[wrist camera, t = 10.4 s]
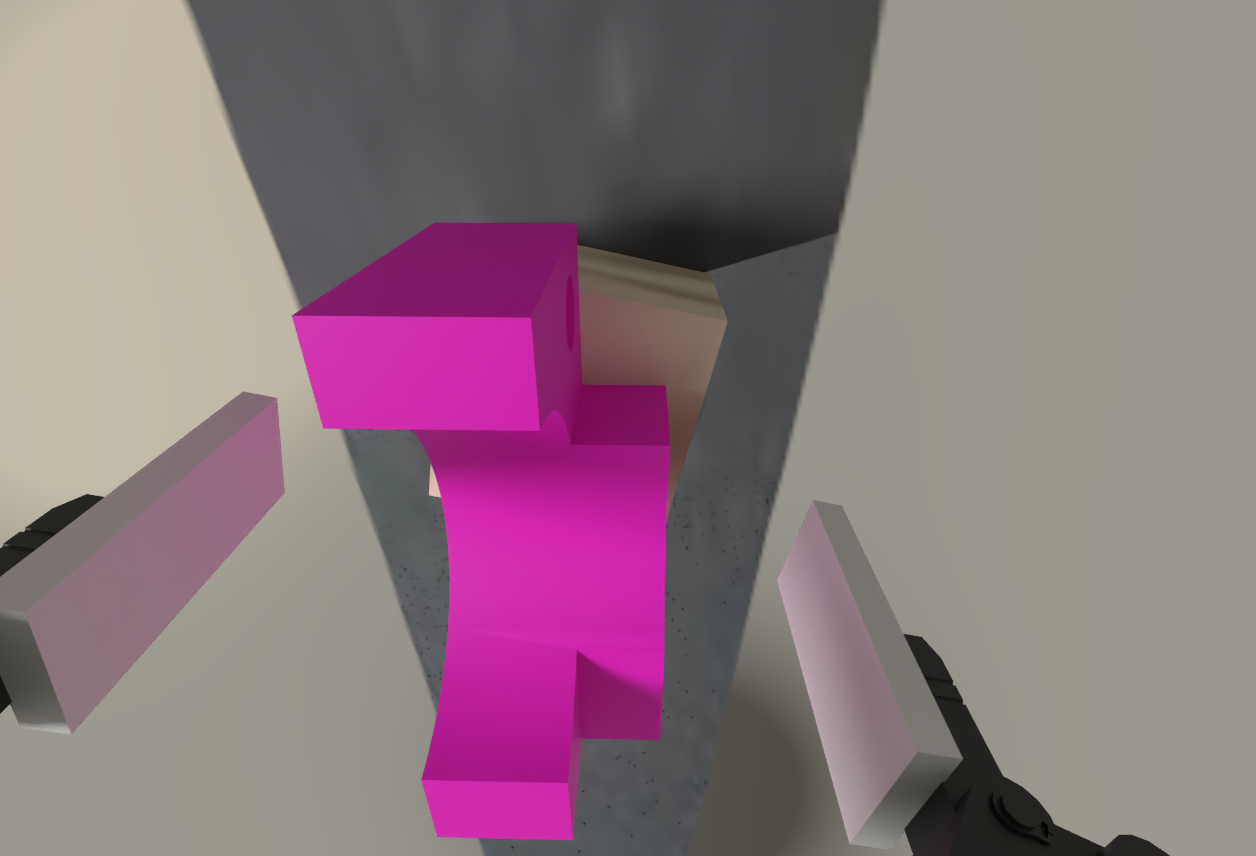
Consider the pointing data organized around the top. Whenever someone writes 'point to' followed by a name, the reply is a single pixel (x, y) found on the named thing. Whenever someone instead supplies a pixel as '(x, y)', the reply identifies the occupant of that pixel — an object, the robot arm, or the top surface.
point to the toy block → (513, 507)
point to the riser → (648, 337)
